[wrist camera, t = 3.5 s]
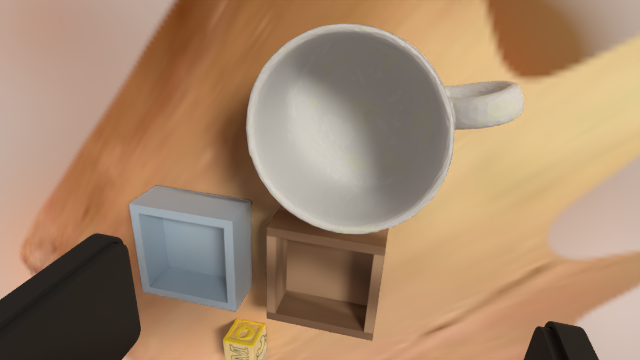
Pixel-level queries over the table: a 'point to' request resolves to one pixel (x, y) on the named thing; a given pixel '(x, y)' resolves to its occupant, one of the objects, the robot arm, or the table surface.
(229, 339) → the alphabet block
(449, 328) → the table surface
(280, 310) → the walnut box
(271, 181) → the grey piece
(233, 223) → the slate box
